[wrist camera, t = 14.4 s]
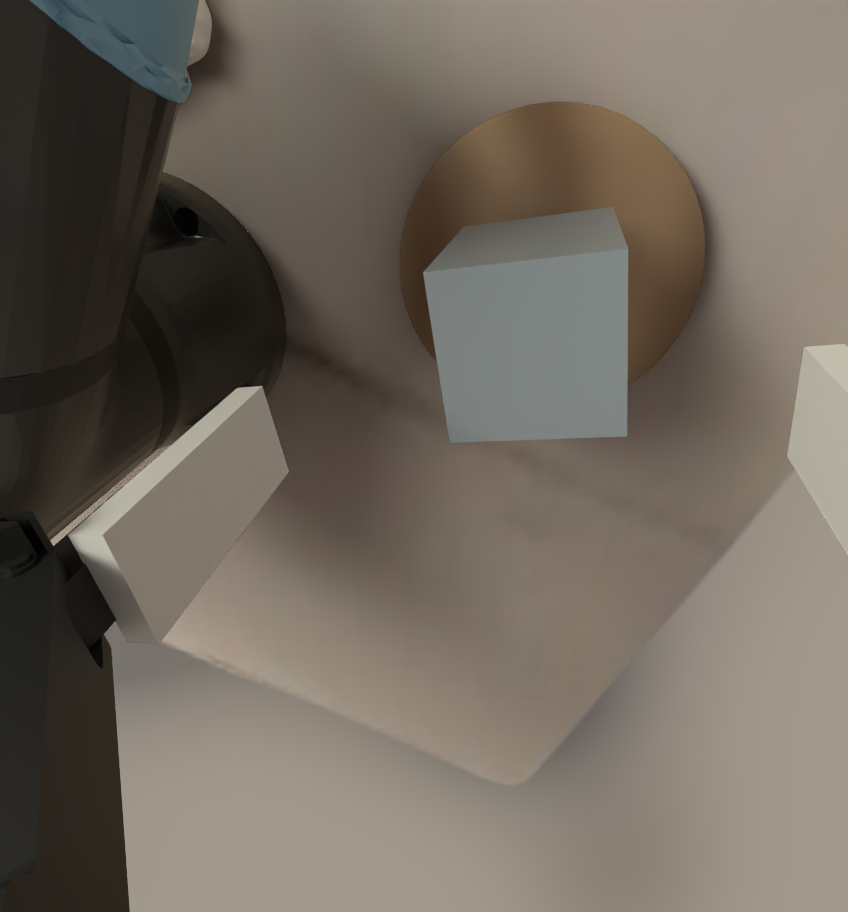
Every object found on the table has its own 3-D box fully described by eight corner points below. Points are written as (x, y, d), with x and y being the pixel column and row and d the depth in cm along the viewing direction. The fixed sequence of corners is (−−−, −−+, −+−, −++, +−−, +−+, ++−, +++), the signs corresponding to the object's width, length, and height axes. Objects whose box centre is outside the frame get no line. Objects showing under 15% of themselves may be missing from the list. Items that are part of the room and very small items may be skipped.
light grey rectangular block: (479, 361, 28) (449, 442, 21) (463, 227, 25) (423, 272, 18) (613, 351, 26) (627, 436, 20) (613, 206, 24) (628, 248, 17)
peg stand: (429, 403, 34) (372, 521, 25) (383, 132, 28) (281, 147, 18) (690, 389, 31) (743, 520, 21) (710, 71, 24) (800, 51, 14)
